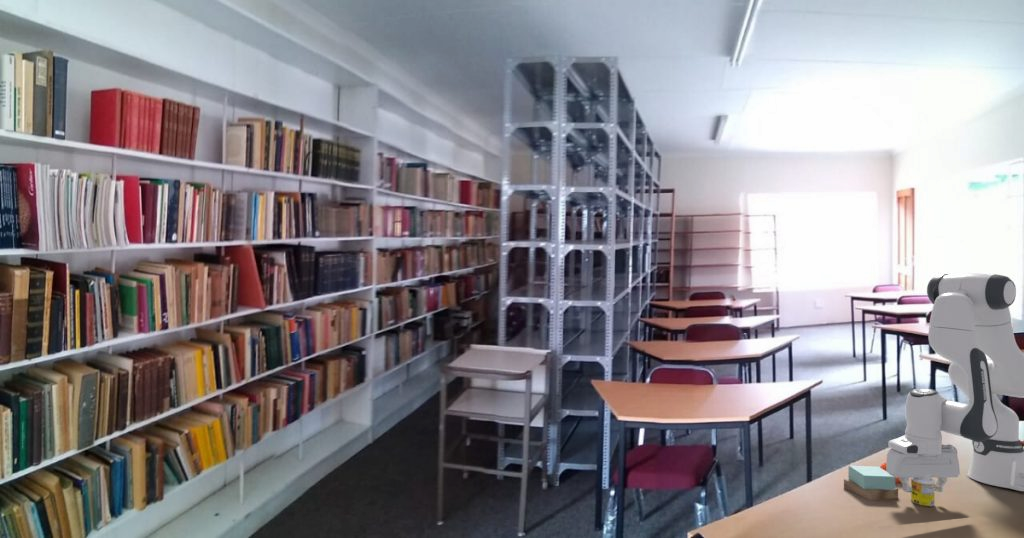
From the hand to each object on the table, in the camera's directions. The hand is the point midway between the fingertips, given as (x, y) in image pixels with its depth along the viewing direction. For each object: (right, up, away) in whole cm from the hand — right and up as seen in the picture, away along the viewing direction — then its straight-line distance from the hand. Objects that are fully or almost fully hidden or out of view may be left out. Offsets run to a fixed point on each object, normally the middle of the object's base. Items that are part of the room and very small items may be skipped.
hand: (922, 491), depth 168 cm
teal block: (-10, -1, +8) cm, 13 cm away
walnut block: (-11, -5, +8) cm, 14 cm away
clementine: (+3, -5, +18) cm, 19 cm away
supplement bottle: (0, -5, 0) cm, 4 cm away
